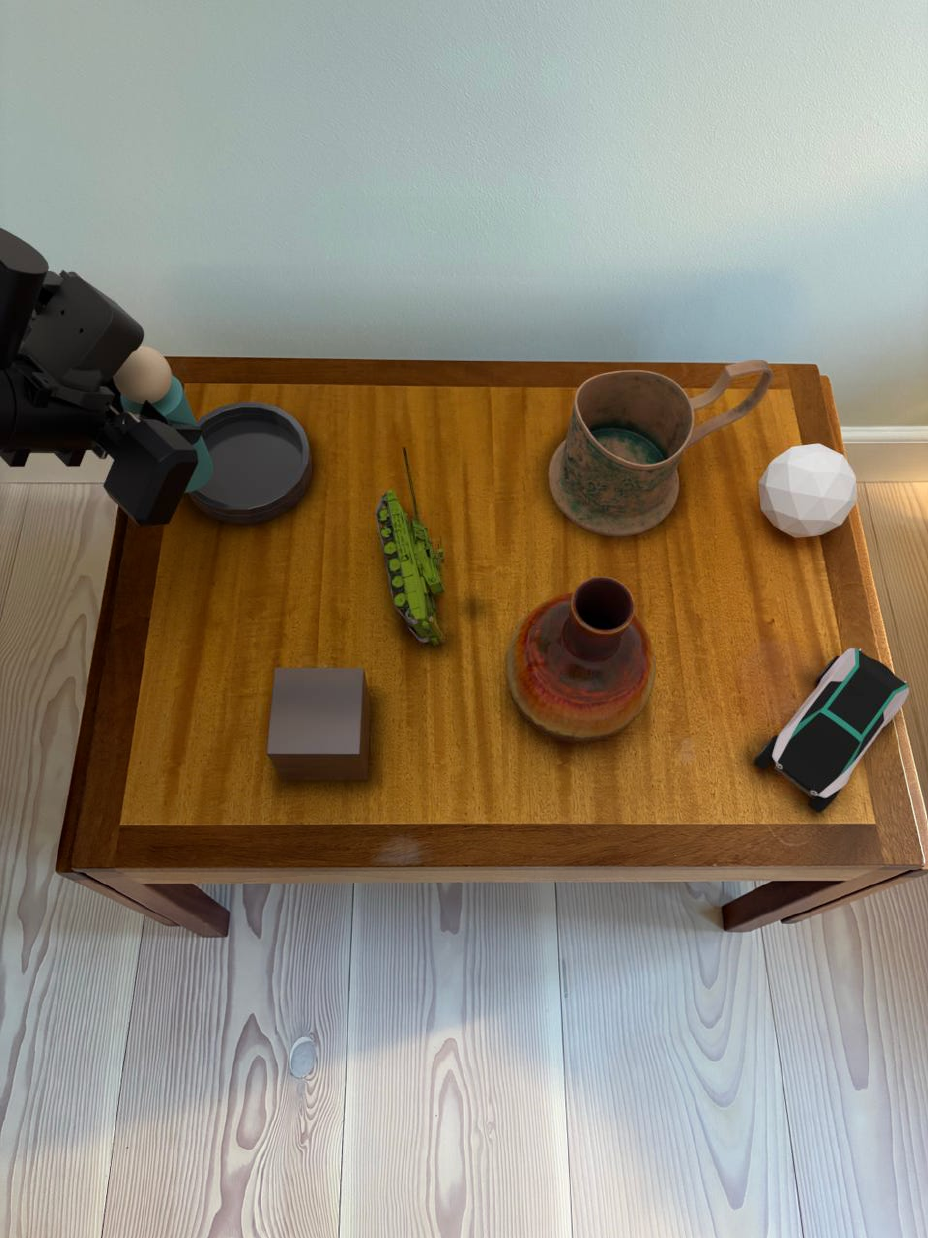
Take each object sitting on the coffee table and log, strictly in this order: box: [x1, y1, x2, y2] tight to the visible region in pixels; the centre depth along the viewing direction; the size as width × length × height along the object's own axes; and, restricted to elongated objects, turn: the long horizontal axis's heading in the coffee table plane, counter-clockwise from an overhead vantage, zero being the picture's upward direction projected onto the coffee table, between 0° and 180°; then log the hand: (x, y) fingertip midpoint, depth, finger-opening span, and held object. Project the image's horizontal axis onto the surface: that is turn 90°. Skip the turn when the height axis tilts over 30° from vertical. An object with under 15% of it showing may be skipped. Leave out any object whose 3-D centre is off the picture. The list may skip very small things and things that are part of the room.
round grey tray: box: [187, 401, 314, 526], centre depth 78 cm, size 11×11×2 cm
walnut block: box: [266, 667, 372, 782], centre depth 66 cm, size 6×6×7 cm
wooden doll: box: [113, 345, 213, 494], centre depth 66 cm, size 4×4×14 cm
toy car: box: [753, 647, 910, 814], centre depth 67 cm, size 6×12×5 cm, turn 138°
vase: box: [505, 575, 657, 744], centre depth 64 cm, size 11×11×15 cm
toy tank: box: [368, 446, 460, 646], centre depth 73 cm, size 7×19×10 cm
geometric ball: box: [757, 443, 858, 539], centre depth 75 cm, size 8×8×8 cm
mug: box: [547, 359, 774, 537], centre depth 75 cm, size 12×18×12 cm, turn 108°
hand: (180, 416), depth 68 cm, fingers closed on wooden doll, 4 cm apart
